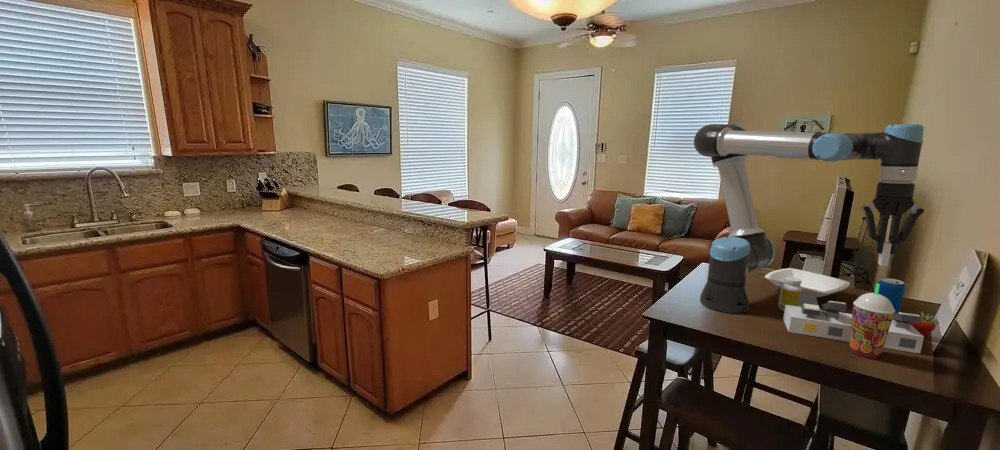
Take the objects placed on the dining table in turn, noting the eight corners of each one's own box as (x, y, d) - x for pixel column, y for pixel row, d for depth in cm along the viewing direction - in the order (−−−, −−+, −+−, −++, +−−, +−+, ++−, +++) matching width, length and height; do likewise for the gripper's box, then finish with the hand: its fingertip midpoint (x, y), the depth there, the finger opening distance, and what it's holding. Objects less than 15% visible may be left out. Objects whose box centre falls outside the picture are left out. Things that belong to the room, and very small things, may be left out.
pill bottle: (803, 313, 139) (808, 282, 136) (784, 312, 139) (789, 281, 137) (792, 305, 145) (796, 275, 143) (773, 305, 145) (778, 275, 143)
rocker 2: (829, 308, 121) (829, 300, 121) (820, 310, 128) (821, 303, 129) (846, 310, 119) (846, 302, 119) (837, 312, 126) (837, 305, 127)
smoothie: (836, 346, 117) (849, 279, 113) (864, 344, 118) (877, 278, 114) (864, 361, 109) (879, 290, 105) (893, 360, 110) (909, 289, 105)
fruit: (928, 343, 118) (934, 317, 117) (903, 336, 123) (909, 310, 121) (935, 339, 121) (941, 314, 119) (910, 332, 125) (916, 307, 124)
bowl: (785, 279, 172) (787, 266, 170) (854, 297, 152) (857, 282, 151) (756, 289, 160) (758, 275, 159) (827, 310, 141) (830, 295, 140)
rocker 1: (802, 313, 124) (804, 307, 123) (798, 297, 131) (799, 291, 130) (819, 316, 122) (820, 310, 122) (813, 299, 129) (815, 293, 128)
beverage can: (903, 320, 133) (911, 284, 131) (880, 318, 135) (887, 283, 132) (889, 311, 140) (896, 278, 137) (867, 310, 141) (874, 276, 138)
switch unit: (788, 332, 125) (792, 312, 124) (783, 319, 134) (785, 300, 133) (920, 354, 113) (925, 331, 111) (904, 337, 122) (908, 317, 120)
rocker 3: (901, 320, 114) (901, 312, 114) (887, 317, 122) (888, 310, 122) (920, 323, 112) (921, 315, 112) (905, 320, 120) (906, 312, 120)
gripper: (870, 182, 113) (857, 265, 117) (934, 183, 107) (919, 271, 112) (861, 180, 120) (849, 259, 124) (922, 181, 114) (907, 263, 118)
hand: (882, 264), depth 118 cm, fingers closed
